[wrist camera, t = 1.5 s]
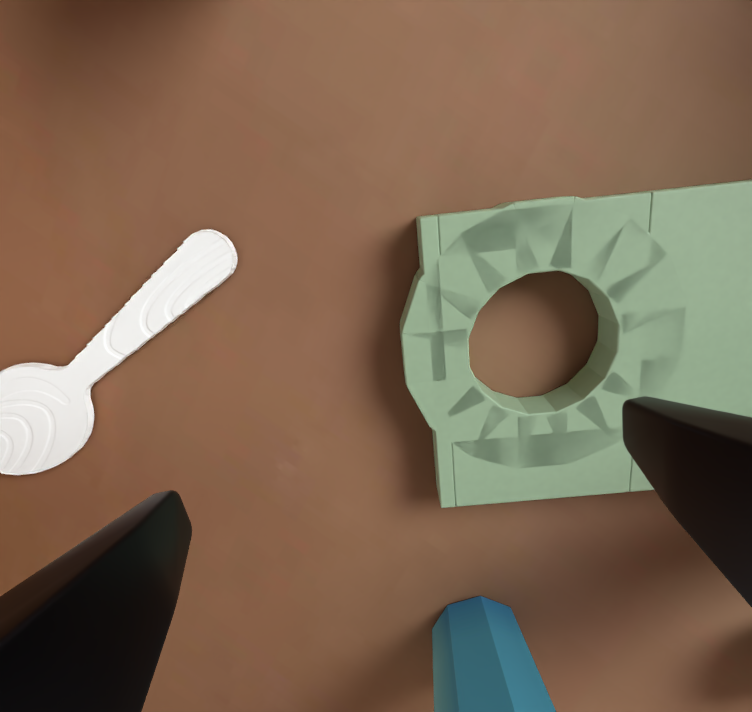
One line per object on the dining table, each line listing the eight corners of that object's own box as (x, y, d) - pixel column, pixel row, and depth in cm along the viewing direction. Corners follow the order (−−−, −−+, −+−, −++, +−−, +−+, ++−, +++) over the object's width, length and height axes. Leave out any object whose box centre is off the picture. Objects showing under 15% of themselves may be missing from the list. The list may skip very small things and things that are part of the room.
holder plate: (785, 171, 20) (828, 167, 18) (739, 458, 24) (770, 480, 22) (389, 215, 20) (390, 216, 19) (414, 487, 25) (417, 510, 23)
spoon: (270, 285, 21) (267, 287, 21) (29, 493, 25) (21, 499, 24) (186, 190, 20) (181, 190, 20) (-55, 424, 24) (-65, 428, 23)
